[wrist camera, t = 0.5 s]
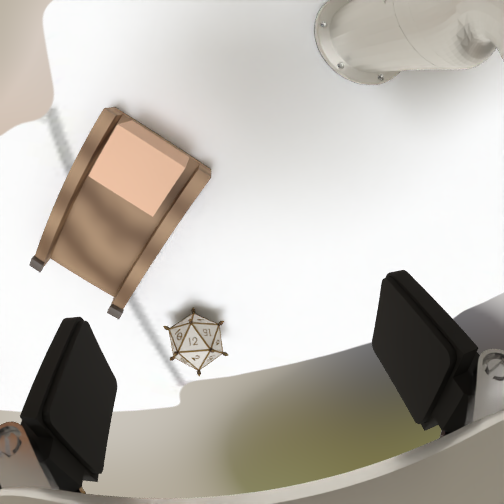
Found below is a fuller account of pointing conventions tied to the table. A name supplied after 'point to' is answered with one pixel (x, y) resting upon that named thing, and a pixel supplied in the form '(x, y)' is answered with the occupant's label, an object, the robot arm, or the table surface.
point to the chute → (112, 221)
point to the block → (139, 166)
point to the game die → (196, 341)
